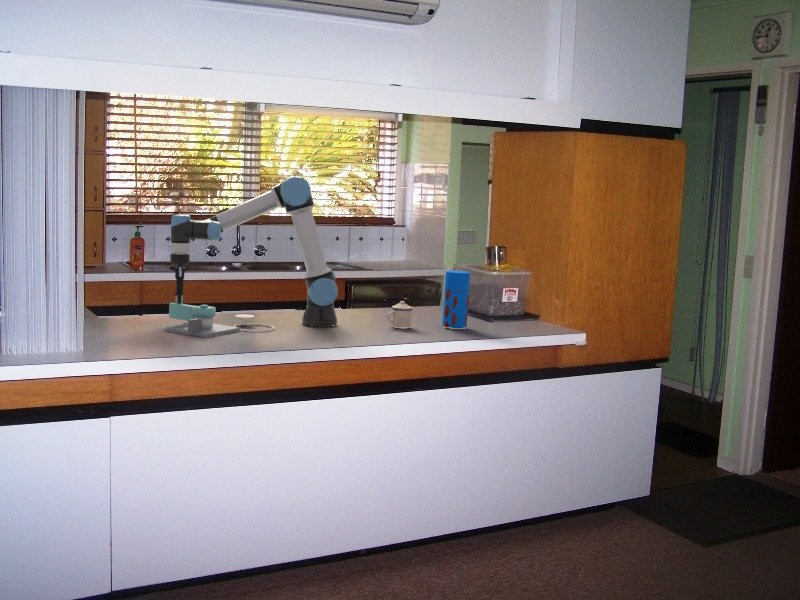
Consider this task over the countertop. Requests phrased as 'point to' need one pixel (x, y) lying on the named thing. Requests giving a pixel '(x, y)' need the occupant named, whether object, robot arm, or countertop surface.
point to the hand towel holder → (245, 317)
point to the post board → (202, 328)
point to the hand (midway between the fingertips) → (178, 311)
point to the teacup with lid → (400, 315)
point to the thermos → (456, 299)
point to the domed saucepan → (190, 311)
